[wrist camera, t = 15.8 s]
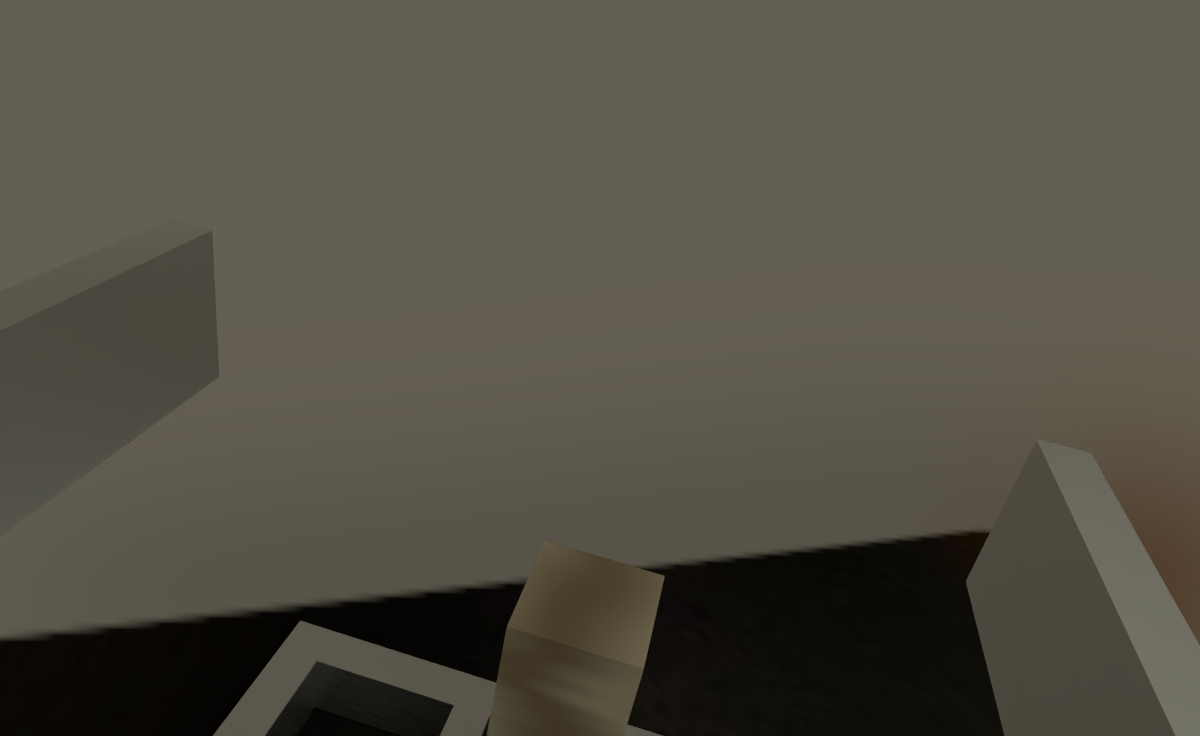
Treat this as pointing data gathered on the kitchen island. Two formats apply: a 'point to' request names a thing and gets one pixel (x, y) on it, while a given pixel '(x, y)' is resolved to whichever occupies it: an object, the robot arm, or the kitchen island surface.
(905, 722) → the kitchen island surface
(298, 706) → the grey flat slotted block
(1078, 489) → the robot arm
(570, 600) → the peg
